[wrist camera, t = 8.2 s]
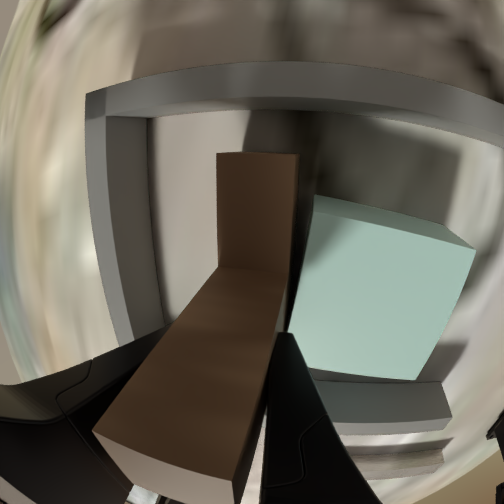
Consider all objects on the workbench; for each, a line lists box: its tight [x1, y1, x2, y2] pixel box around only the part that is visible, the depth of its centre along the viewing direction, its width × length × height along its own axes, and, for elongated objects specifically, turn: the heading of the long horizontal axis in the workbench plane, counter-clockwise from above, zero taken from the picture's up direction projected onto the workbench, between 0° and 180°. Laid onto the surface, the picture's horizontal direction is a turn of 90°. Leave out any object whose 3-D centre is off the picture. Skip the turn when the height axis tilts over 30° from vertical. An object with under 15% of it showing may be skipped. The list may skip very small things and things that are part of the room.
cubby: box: [85, 61, 504, 435], centre depth 11 cm, size 18×16×3 cm
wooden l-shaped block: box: [92, 152, 300, 504], centre depth 8 cm, size 2×10×10 cm, turn 179°
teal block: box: [286, 194, 476, 380], centre depth 11 cm, size 6×6×4 cm
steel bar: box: [350, 448, 444, 480], centre depth 16 cm, size 12×2×2 cm, turn 89°
